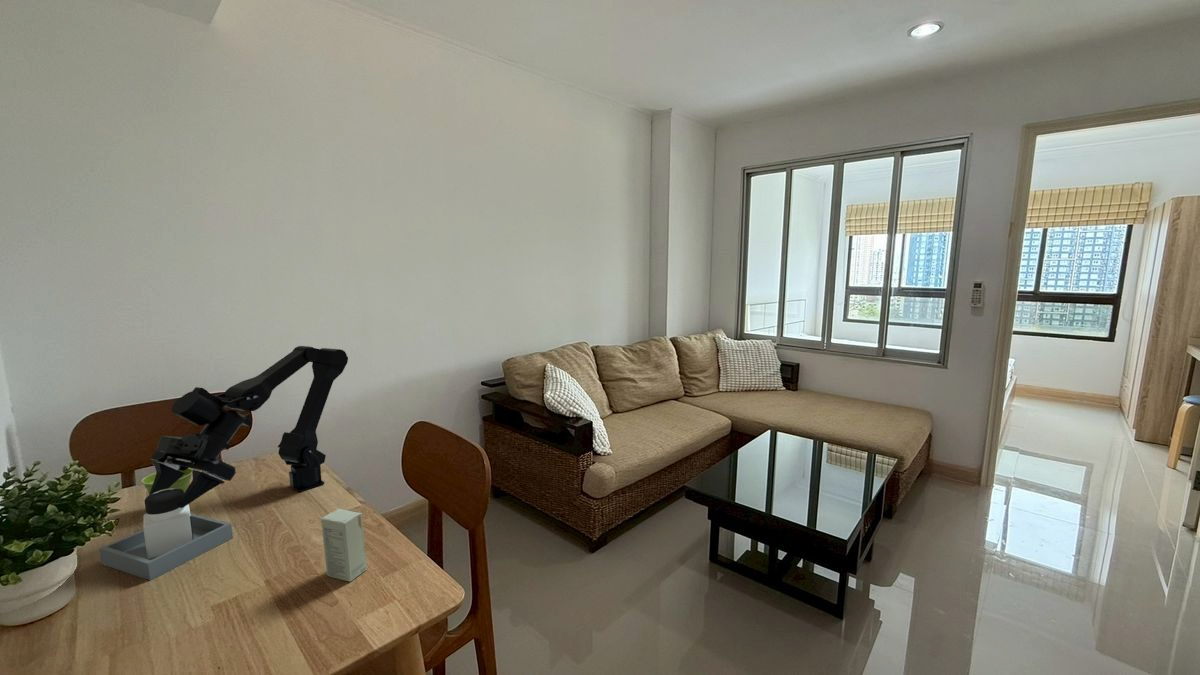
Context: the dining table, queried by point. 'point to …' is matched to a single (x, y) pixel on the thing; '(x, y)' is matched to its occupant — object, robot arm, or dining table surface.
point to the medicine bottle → (166, 522)
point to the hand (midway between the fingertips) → (164, 503)
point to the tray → (134, 559)
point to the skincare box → (344, 544)
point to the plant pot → (180, 483)
